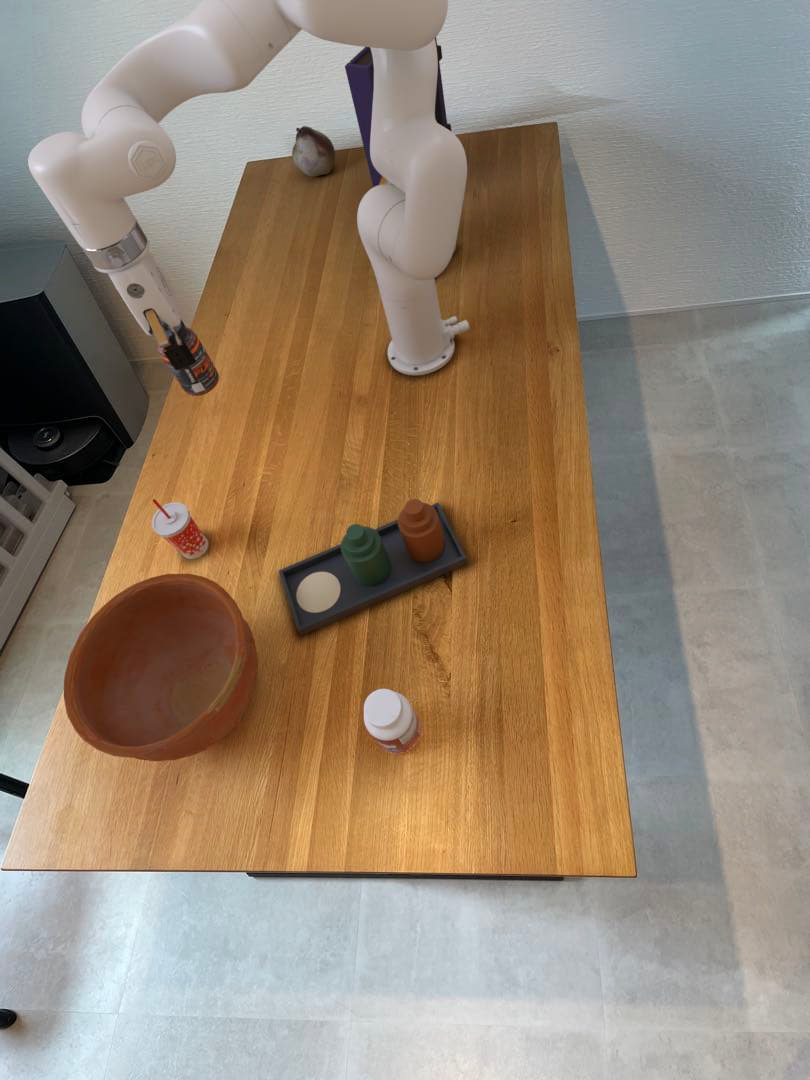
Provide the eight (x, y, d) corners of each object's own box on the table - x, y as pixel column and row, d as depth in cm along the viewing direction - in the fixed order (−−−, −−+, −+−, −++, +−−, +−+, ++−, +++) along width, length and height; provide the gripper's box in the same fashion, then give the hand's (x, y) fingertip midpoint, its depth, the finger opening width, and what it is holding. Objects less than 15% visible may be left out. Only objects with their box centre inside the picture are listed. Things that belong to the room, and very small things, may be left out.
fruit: (295, 184, 165) (278, 134, 155) (304, 161, 170) (288, 111, 159) (335, 181, 163) (320, 130, 152) (343, 158, 167) (329, 107, 157)
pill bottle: (367, 736, 92) (346, 711, 83) (396, 700, 94) (379, 672, 84) (402, 765, 89) (384, 743, 80) (431, 727, 91) (417, 701, 82)
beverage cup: (218, 535, 114) (180, 487, 102) (202, 566, 111) (160, 520, 100) (188, 528, 116) (147, 480, 104) (171, 559, 113) (127, 513, 102)
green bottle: (383, 546, 106) (367, 507, 97) (397, 576, 103) (381, 539, 94) (348, 561, 106) (328, 524, 97) (360, 592, 103) (341, 556, 94)
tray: (440, 509, 109) (438, 502, 107) (468, 563, 103) (466, 557, 101) (282, 576, 108) (278, 570, 106) (301, 636, 102) (297, 630, 100)
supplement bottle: (212, 398, 103) (177, 343, 94) (178, 397, 105) (140, 342, 95) (226, 369, 106) (193, 312, 96) (192, 368, 108) (157, 312, 98)
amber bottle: (436, 523, 107) (425, 482, 97) (451, 553, 103) (441, 514, 94) (401, 538, 106) (387, 499, 97) (415, 568, 103) (401, 531, 94)
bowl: (236, 807, 90) (185, 784, 78) (91, 750, 98) (23, 720, 86) (311, 640, 101) (276, 595, 88) (174, 600, 109) (124, 554, 96)
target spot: (332, 565, 106) (332, 564, 106) (346, 601, 103) (346, 601, 102) (291, 582, 106) (291, 582, 106) (303, 620, 102) (303, 619, 102)
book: (400, 216, 150) (369, 68, 125) (377, 211, 153) (342, 65, 128) (454, 155, 159) (435, 5, 133) (431, 151, 161) (409, 3, 136)
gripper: (152, 271, 80) (216, 379, 95) (135, 197, 89) (196, 306, 104) (92, 294, 80) (166, 399, 95) (81, 218, 89) (151, 325, 104)
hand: (181, 350), depth 99 cm, fingers closed on supplement bottle, 6 cm apart
